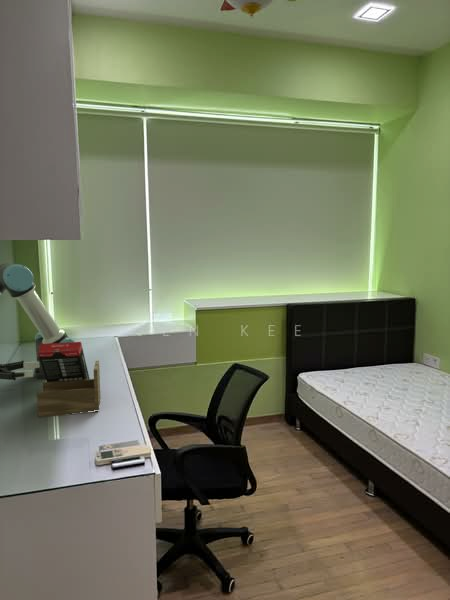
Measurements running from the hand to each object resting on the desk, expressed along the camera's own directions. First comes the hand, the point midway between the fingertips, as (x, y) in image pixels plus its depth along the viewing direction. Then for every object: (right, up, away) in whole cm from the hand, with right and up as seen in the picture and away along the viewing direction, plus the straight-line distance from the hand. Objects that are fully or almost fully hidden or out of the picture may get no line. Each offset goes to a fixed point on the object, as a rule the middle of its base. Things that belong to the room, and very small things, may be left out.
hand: (36, 368), depth 188 cm
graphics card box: (+14, -12, +6) cm, 19 cm away
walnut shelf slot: (+17, -15, -8) cm, 24 cm away
